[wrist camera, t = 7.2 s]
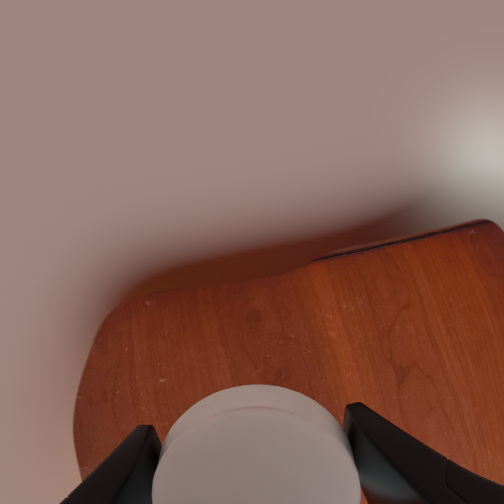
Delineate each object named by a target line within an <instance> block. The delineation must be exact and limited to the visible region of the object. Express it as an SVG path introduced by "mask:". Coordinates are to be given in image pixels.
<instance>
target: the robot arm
mask: <svg viewBox="0 0 504 504" xmlns="http://www.w3.org/2000/svg"><path fill="white" fill-rule="evenodd" d="M343 427H344V432H345V434H346V436H347V438H348V440H349V443H350V446H351V448H352V452H353V457H354V464H355V467H356V469H357V472H358V476H359V481H360V485H361V488H362V490H363V493H364V495H365V497H366V500H367V502H368V504H504V486H503V485H501V484H498V483H496V482H493V481H491V480H488V479H486V478H483V477H481V476H479V475H477V474H475V473H472V472H470V471H469V470H467V469H465V468H463V467H461V466H459V465H458V464H456V463H454V462H453V461H451V460H449V459H448V460H447V458H446V457H444V456H443V455H441V454H439V453H438V452H436V451H434V450H433V449H431V448H430V447H428V446H426V445H425V444H423V443H422V442H420V441H419V440H417V439H415V438H414V437H412V436H411V435H409V434H408V433H406V432H405V431H403V430H401V429H400V428H398V427H397V426H395V425H394V424H392V423H391V422H389V421H388V420H386V419H385V418H383V417H382V416H380V415H379V414H377V413H376V412H374V411H373V410H371V409H370V408H368V407H367V406H366V405H364V404H363V403H361V402H356V403H352V404H348V405H346V407H345V414H344V422H343ZM161 448H162V445H161V442H160V440H159V437H158V435H157V433H156V430H155V428H154V427H153V426H152V425H139V426H137V427H136V428H135V429H134V430H133V431H132V432H131V433H130V434H129V435H128V436H127V437H126V438H125V439H124V441H123V442H122V443H121V444H120V445H119V446H118V447H117V448H116V449H115V450H114V451H113V452H112V453H111V454H110V455H109V456H108V457H107V458H106V459H105V460H104V461H103V462H102V463H101V464H100V465H99V466H98V467H97V468H96V469H95V470H94V471H93V472H92V473H91V474H90V475H89V476H88V477H87V478H86V479H85V480H84V481H83V482H82V483H81V484H80V485H79V486H78V487H76V489H74V491H72V492H71V494H69V495H68V498H65V499H64V500H63V501H62V502H61V503H60V504H152V485H153V478H154V475H155V472H156V469H157V466H158V460H159V455H160V452H161Z"/></svg>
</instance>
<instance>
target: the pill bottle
mask: <svg viewBox="0 0 504 504" xmlns="http://www.w3.org/2000/svg"><path fill="white" fill-rule="evenodd" d="M360 501H361V489H360V481H359V476H358V472H357V469H356V467H355V464H354V457H353V452H352V448H351V446H350V443H349V440H348V438H347V436H346V434H345V432H344V430H343V429H342V427H341V425H340V424H339V423H338V422H337V420H336V419H335V418H334V417H333V416H332V415H331V414H330V413H329V412H328V411H327V410H326V409H325V408H324V407H323V406H321V405H320V404H318V403H317V402H316V401H314V400H312V399H311V398H309V397H307V396H305V395H303V394H301V393H299V392H296V391H293V390H290V389H287V388H283V387H278V386H271V385H244V386H237V387H233V388H228V389H225V390H221V391H219V392H216V393H214V394H212V395H209V396H208V397H206V398H204V399H202V400H200V401H199V402H197V403H196V404H194V405H193V406H192V407H191V408H190V409H188V410H187V411H186V412H185V413H184V414H183V415H182V416H181V417H180V418H179V419H178V420H177V421H176V422H175V424H174V425H173V426H172V428H171V429H170V431H169V432H168V434H167V436H166V438H165V440H164V443H163V445H162V448H161V452H160V455H159V460H158V466H157V469H156V472H155V475H154V478H153V485H152V504H360Z"/></svg>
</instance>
